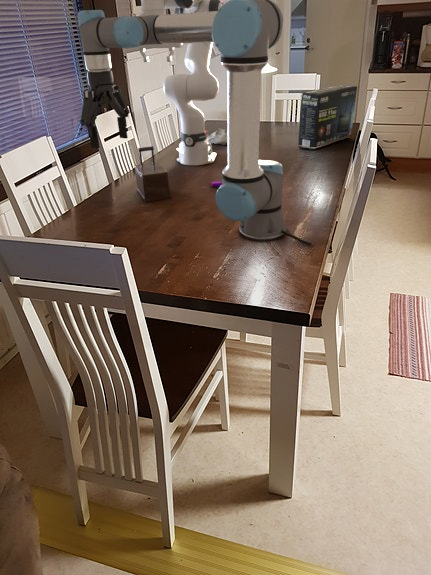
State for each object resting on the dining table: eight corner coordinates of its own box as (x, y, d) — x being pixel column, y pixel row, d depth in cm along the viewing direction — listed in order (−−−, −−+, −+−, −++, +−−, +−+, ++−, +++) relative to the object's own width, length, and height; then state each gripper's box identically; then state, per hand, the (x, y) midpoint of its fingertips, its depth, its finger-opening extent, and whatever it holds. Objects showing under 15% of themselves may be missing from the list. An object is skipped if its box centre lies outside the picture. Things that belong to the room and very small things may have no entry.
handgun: (210, 185, 192) (210, 181, 191) (228, 183, 193) (228, 179, 192) (220, 202, 174) (220, 197, 173) (240, 199, 175) (239, 195, 174)
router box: (314, 151, 231) (318, 94, 217) (296, 148, 237) (299, 92, 224) (352, 138, 251) (358, 85, 238) (335, 135, 258) (340, 83, 245)
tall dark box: (134, 167, 185) (131, 146, 180) (158, 164, 187) (156, 143, 183) (142, 177, 173) (139, 155, 169) (167, 174, 176) (165, 152, 171)
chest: (137, 191, 189) (134, 168, 184) (160, 187, 192) (158, 164, 187) (145, 202, 178) (142, 177, 173) (169, 198, 180) (167, 174, 176)
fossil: (226, 139, 242) (207, 121, 245) (215, 156, 249) (197, 138, 252) (243, 138, 256) (224, 121, 259) (232, 154, 262) (215, 137, 266)
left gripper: (184, 18, 167) (186, 60, 174) (132, 20, 172) (136, 61, 179) (178, 18, 161) (181, 62, 168) (125, 20, 166) (130, 63, 173)
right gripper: (116, 65, 148) (125, 133, 159) (58, 75, 129) (73, 150, 140) (135, 66, 144) (143, 135, 155) (78, 75, 126) (91, 153, 137)
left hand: (157, 61), depth 174 cm, fingers open, 8 cm apart
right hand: (110, 142), depth 148 cm, fingers open, 13 cm apart
